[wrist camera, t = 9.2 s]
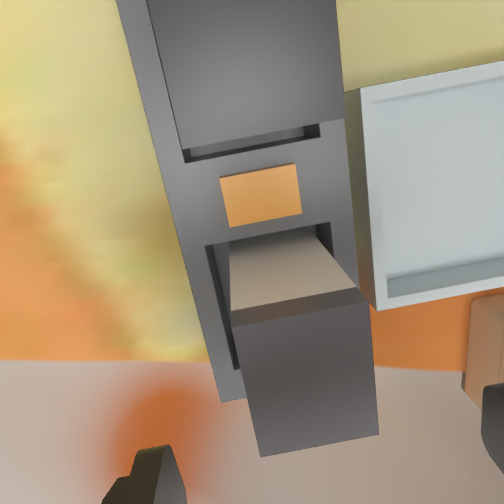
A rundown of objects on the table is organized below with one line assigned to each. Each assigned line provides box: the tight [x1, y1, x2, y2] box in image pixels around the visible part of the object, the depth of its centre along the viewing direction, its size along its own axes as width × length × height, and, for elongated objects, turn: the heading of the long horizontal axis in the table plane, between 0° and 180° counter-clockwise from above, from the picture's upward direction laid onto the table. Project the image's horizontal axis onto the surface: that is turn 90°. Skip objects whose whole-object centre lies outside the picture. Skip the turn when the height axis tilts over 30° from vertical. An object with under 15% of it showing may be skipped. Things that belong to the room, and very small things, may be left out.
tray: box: [344, 61, 504, 311], centre depth 18 cm, size 10×11×3 cm
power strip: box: [116, 0, 360, 402], centre depth 14 cm, size 20×8×10 cm, turn 10°
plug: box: [229, 226, 379, 457], centre depth 15 cm, size 4×5×9 cm
